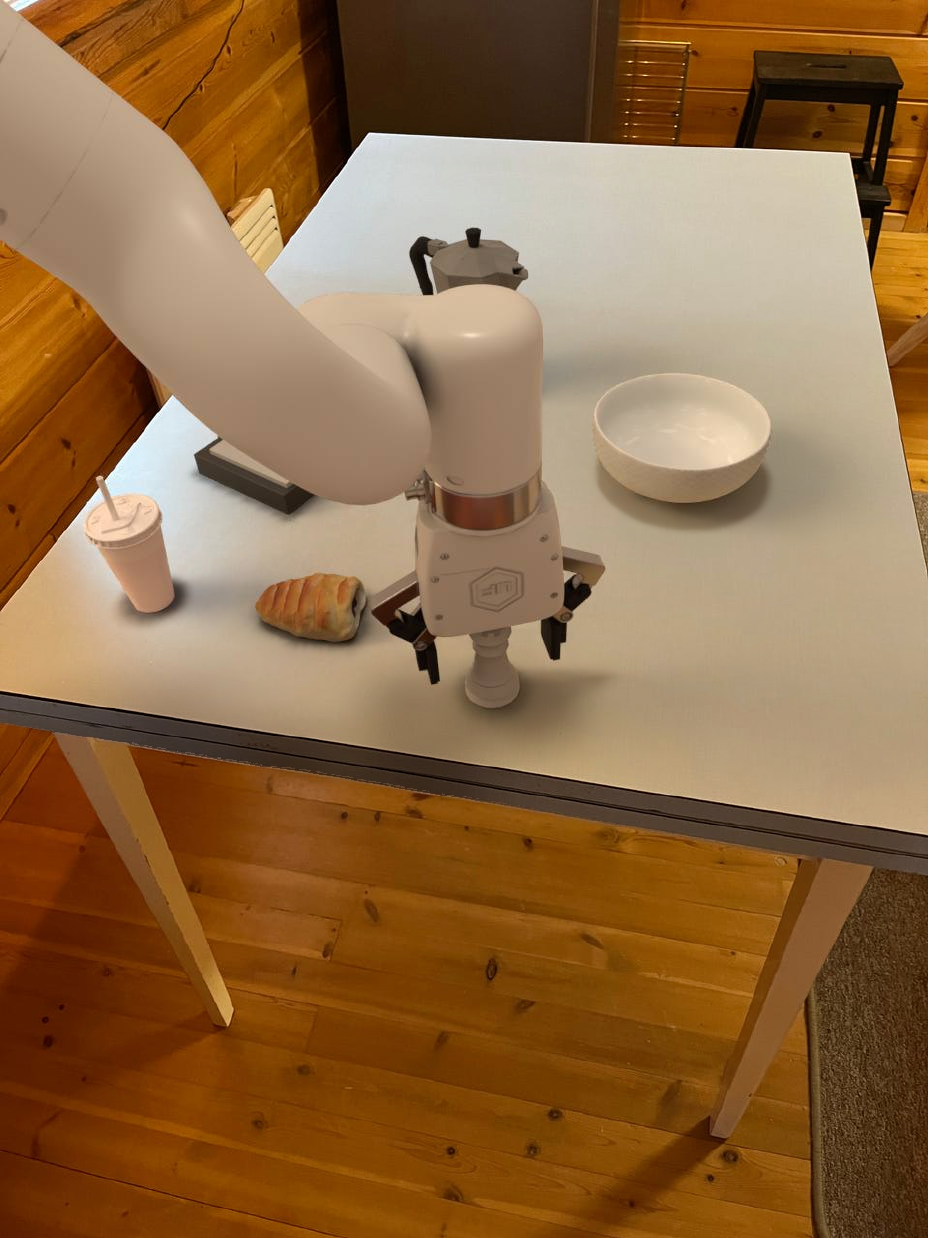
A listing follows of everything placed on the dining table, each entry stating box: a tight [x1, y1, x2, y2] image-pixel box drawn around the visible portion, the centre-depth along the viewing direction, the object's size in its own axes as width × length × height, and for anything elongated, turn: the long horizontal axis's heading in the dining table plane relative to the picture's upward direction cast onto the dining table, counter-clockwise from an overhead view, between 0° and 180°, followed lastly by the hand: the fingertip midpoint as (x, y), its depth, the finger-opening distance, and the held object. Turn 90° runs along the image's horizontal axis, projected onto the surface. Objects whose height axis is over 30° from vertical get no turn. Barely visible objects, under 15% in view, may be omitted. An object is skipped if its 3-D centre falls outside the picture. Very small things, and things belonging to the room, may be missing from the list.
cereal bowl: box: [592, 372, 773, 504], centre depth 91 cm, size 17×17×7 cm
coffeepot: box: [408, 227, 529, 295], centre depth 102 cm, size 15×9×18 cm, turn 53°
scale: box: [193, 434, 315, 515], centre depth 98 cm, size 13×13×3 cm
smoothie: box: [82, 475, 176, 614], centre depth 80 cm, size 6×6×14 cm
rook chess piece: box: [464, 626, 521, 710], centre depth 72 cm, size 4×4×8 cm
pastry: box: [254, 572, 367, 643], centre depth 81 cm, size 9×7×4 cm
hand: (491, 659), depth 72 cm, fingers open, 9 cm apart
